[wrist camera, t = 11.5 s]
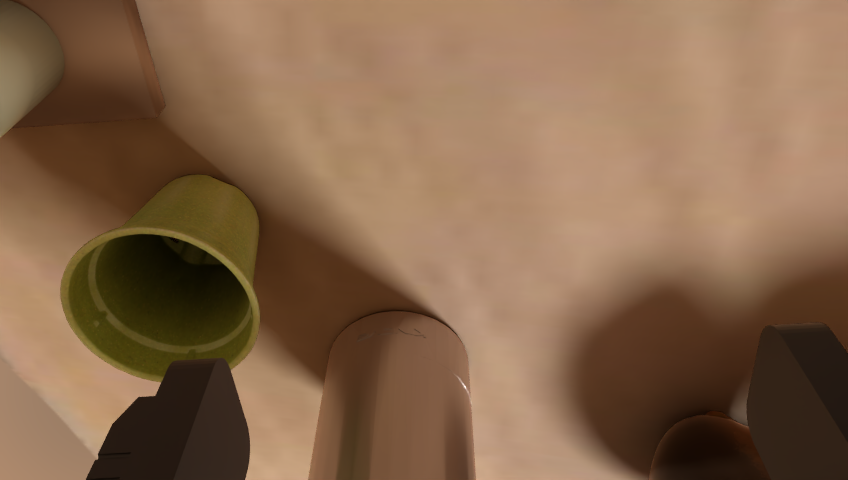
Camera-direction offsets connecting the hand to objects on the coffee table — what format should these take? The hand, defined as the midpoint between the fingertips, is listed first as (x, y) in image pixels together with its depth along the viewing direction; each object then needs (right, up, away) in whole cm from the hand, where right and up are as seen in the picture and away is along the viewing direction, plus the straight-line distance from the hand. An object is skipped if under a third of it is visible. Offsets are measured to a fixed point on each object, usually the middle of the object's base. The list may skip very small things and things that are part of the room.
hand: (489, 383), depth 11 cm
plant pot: (-14, +4, +31) cm, 34 cm away
